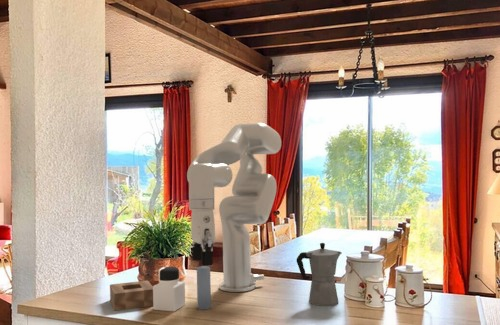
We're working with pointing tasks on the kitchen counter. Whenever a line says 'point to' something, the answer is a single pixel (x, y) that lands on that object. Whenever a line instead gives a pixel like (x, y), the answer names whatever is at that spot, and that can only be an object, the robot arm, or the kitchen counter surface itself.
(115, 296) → the socket
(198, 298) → the peg
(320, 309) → the kitchen counter surface
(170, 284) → the medicine bottle
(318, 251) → the coffeepot
